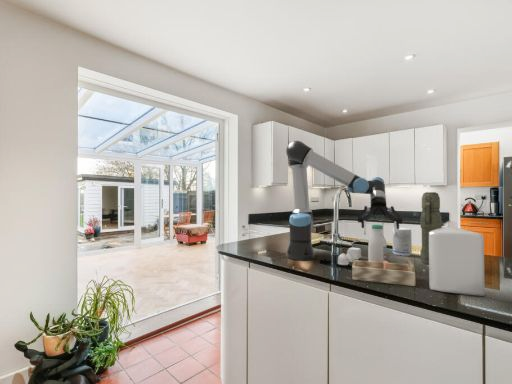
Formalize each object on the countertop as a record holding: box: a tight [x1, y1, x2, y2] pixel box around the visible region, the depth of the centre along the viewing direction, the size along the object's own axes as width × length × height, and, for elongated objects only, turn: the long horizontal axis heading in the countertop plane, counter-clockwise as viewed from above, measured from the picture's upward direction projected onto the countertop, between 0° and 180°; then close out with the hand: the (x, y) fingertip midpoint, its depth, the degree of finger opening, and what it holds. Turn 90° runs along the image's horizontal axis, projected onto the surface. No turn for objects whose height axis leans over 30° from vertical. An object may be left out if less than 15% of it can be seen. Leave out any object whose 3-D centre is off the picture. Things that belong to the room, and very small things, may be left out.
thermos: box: [420, 191, 443, 266], centre depth 134 cm, size 9×12×35 cm
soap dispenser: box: [428, 226, 486, 297], centre depth 98 cm, size 15×14×22 cm
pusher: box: [384, 255, 389, 270], centre depth 109 cm, size 2×10×8 cm, turn 158°
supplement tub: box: [392, 227, 413, 257], centre depth 154 cm, size 10×10×15 cm
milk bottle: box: [367, 224, 388, 262], centre depth 124 cm, size 8×8×20 cm
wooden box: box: [351, 259, 416, 287], centre depth 110 cm, size 22×13×7 cm, turn 68°
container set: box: [337, 246, 362, 266], centre depth 139 cm, size 20×5×6 cm, turn 139°
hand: (380, 233), depth 129 cm, fingers open, 13 cm apart
